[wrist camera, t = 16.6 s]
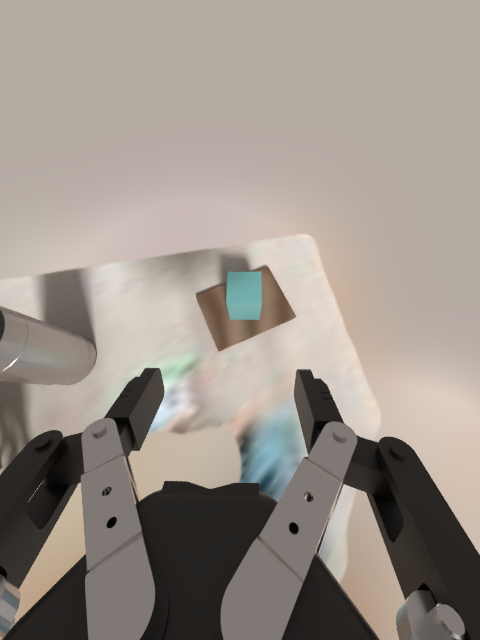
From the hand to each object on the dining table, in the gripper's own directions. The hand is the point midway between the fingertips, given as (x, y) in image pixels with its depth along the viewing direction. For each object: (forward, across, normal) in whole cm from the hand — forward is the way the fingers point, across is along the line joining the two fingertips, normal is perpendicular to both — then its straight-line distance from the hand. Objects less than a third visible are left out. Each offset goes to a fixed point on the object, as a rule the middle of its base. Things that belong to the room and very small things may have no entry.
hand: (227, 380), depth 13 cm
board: (+31, 0, +9) cm, 32 cm away
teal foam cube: (+30, -1, +8) cm, 31 cm away
